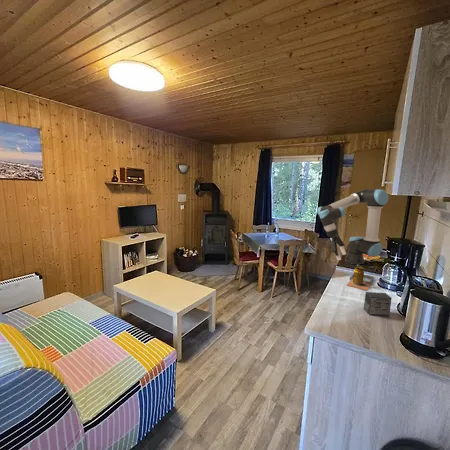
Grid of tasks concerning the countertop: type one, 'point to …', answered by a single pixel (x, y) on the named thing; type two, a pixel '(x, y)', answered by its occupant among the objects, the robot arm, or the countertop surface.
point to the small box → (377, 304)
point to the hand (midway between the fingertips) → (342, 257)
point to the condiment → (358, 276)
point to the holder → (365, 277)
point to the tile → (359, 286)
